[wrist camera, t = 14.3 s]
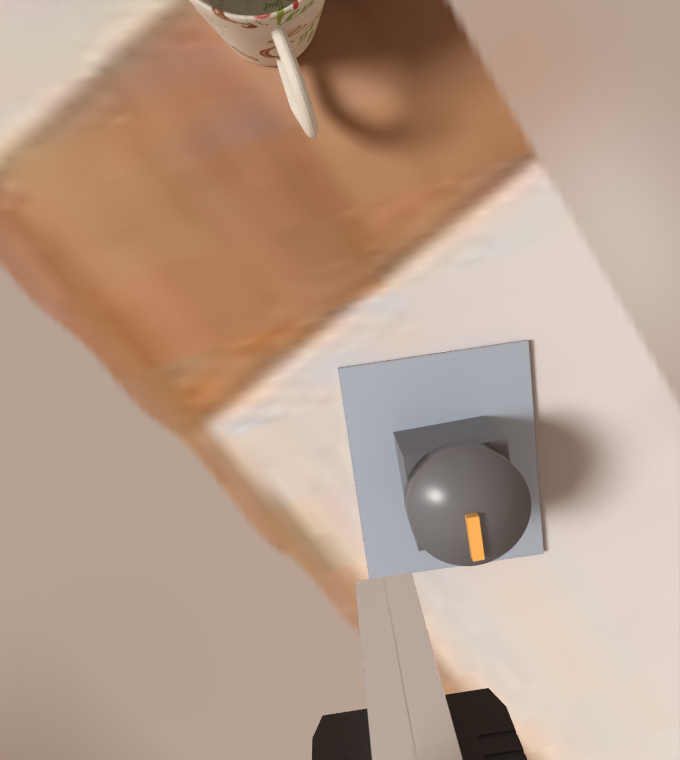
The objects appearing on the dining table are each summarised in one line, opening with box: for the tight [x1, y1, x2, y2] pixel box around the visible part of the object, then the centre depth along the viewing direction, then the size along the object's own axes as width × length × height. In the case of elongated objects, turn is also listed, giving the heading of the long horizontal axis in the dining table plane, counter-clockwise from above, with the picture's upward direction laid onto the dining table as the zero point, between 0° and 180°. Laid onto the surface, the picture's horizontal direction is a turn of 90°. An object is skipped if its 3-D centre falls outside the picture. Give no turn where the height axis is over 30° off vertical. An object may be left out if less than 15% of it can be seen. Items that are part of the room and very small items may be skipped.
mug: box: [189, 0, 325, 138], centre depth 29 cm, size 8×13×10 cm, turn 22°
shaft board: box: [338, 340, 544, 579], centre depth 37 cm, size 16×13×5 cm
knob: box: [393, 416, 531, 566], centre depth 36 cm, size 7×7×8 cm
